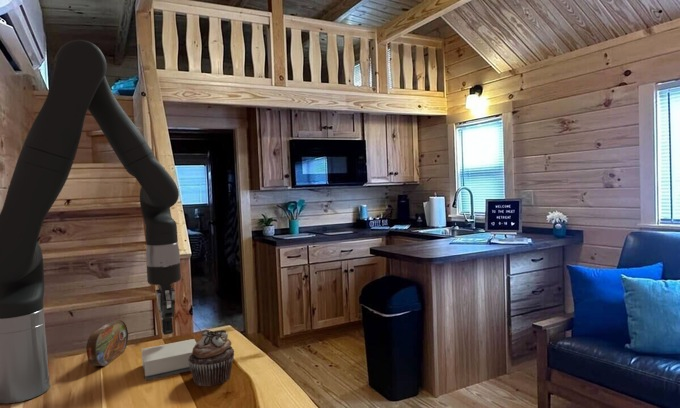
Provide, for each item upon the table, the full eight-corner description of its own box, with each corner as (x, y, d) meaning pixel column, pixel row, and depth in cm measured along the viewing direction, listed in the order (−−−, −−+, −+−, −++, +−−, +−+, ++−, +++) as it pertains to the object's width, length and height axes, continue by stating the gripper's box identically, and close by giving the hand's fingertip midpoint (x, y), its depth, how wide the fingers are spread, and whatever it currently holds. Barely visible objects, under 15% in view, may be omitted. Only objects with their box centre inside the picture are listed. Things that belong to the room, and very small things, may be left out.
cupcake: (193, 370, 103) (191, 327, 102) (237, 367, 104) (235, 324, 103) (184, 390, 93) (181, 342, 93) (232, 385, 94) (230, 338, 94)
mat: (145, 380, 98) (145, 378, 98) (142, 366, 106) (142, 365, 106) (202, 368, 104) (202, 366, 104) (195, 355, 111) (195, 354, 111)
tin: (98, 372, 104) (96, 336, 103) (85, 372, 104) (82, 336, 103) (130, 347, 119) (128, 316, 118) (118, 347, 119) (116, 316, 118)
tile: (142, 363, 107) (145, 377, 99) (141, 348, 107) (144, 362, 99) (195, 352, 112) (201, 365, 104) (194, 338, 112) (201, 350, 104)
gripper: (143, 260, 112) (148, 328, 113) (149, 268, 101) (154, 345, 102) (175, 256, 116) (179, 323, 117) (184, 264, 104) (188, 338, 105)
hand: (167, 333), depth 109 cm, fingers closed
